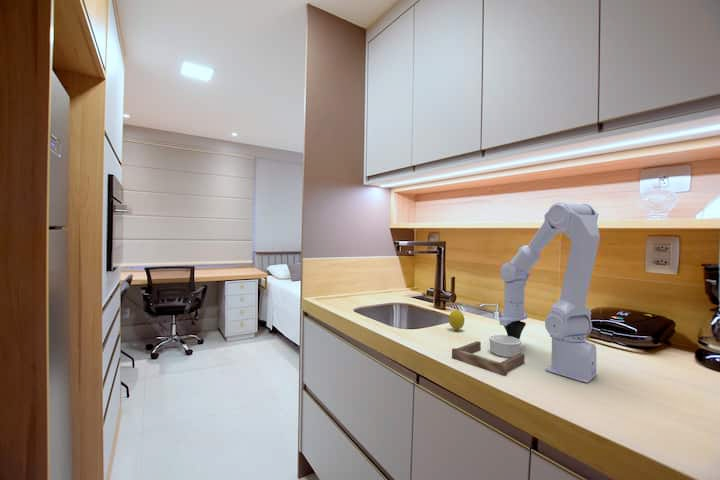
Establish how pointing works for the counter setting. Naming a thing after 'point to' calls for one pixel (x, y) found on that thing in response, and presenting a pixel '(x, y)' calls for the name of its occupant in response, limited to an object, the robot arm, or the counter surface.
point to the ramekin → (504, 345)
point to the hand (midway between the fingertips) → (513, 344)
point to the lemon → (456, 319)
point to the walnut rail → (494, 366)
